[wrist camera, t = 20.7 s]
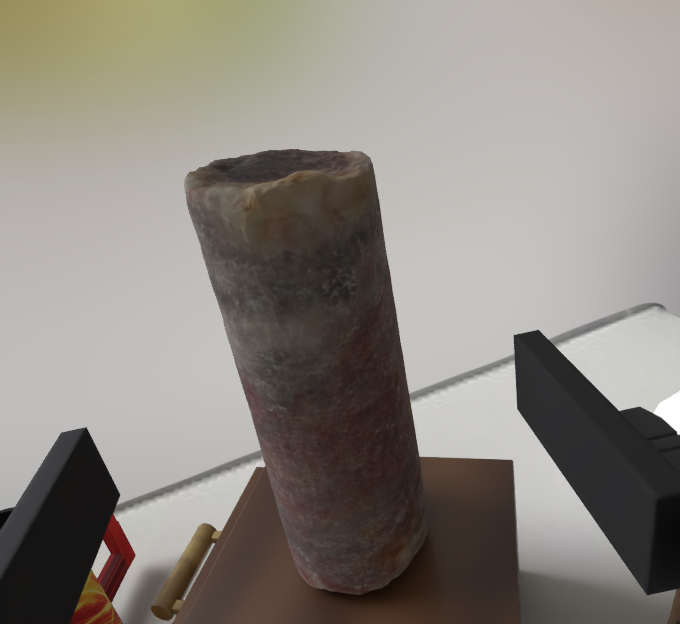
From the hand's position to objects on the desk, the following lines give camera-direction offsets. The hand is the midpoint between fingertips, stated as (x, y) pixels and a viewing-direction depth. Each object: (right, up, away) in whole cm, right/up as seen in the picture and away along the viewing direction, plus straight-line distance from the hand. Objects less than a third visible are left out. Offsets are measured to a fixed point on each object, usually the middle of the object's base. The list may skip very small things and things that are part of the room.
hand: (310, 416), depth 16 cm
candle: (+2, -9, +12) cm, 15 cm away
